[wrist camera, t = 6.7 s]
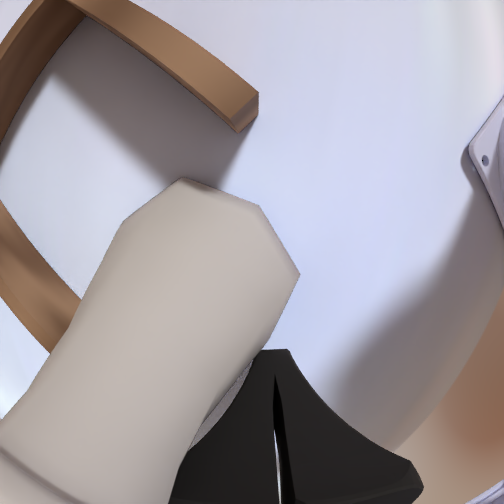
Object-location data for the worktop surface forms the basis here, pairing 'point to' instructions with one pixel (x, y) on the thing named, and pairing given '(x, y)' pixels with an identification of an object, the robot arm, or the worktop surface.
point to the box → (20, 81)
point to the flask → (148, 352)
